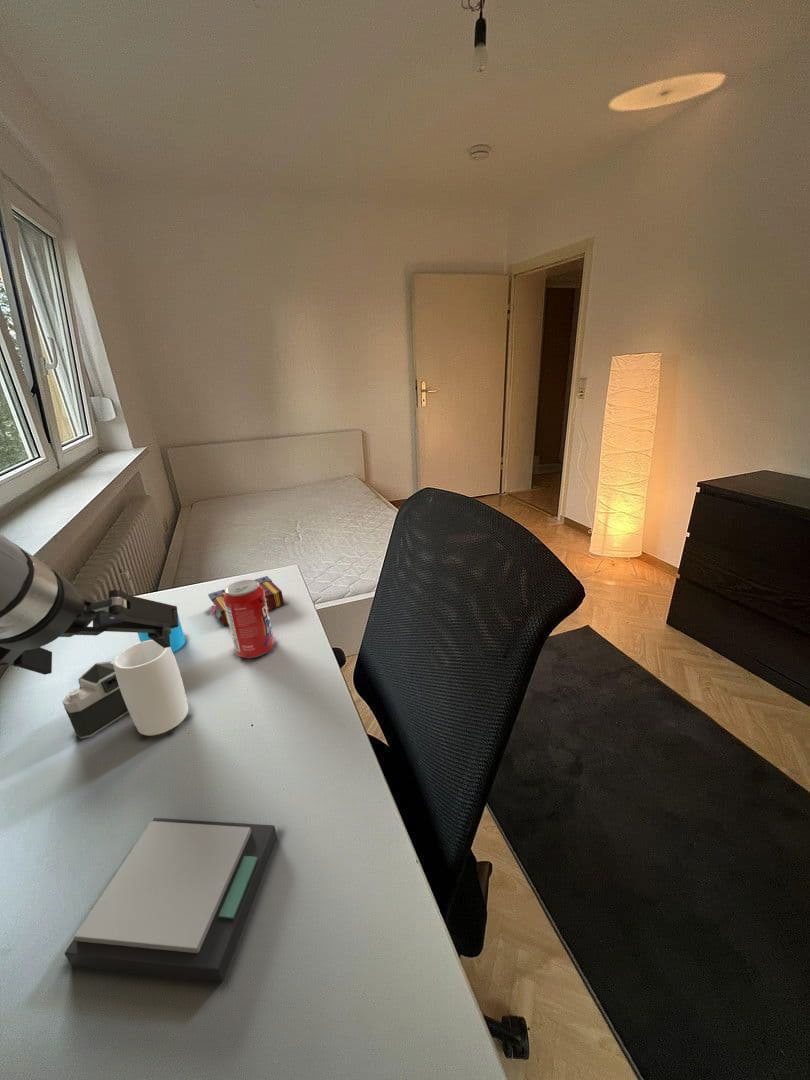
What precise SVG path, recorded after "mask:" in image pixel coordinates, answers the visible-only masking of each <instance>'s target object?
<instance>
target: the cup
mask: <svg viewBox="0 0 810 1080" xmlns="http://www.w3.org/2000/svg"><path fill="white" fill-rule="evenodd" d="M113 665H114V670H115V674H116V678H117V681H118V685H119V688H120V691H121V694H122V696H123V699H124V701H125V704H126V706H127V709H128V711H129V712H128V713H129V716H130V718H131V720H132V722H133V724H134V726H135V728H136V730H137V732H138V733H139V734H141V735H144V736H150V737H151V736H152V737H153V736H156V735H160V734H163V733H166V732H169V731H171V730H172V729H175V727H177V726H179V725H180V724H181V723H182V722H183V721H184V720H185V719H186V717H187V715H188V713H189V703H188V698H187V694H186V689H185V685H184V682H183V679H182V675H181V674H182V673H181V671H180V668H179V665H178V662H177V660H176V657H175V654H174V652H172V650H171V647H167V648H163V647H162V646H161V645H159V644H158V643H156V642H155V641H154V640H148V641H144V642H140V641H139V642H137V643H134V644H132V645H130V646H128V647H126V648H125V649H123V650H122V651H121V652H120V653H119V654H117V655H116V657H115V658H114V660H113Z"/></svg>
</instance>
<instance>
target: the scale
mask: <svg viewBox="0 0 810 1080" xmlns="http://www.w3.org/2000/svg"><path fill="white" fill-rule="evenodd" d="M277 839H278V835H277V830H276V826H275V824H258V823H245V822H243V823H242V822H227V821H211V820H210V821H209V820H194V819H193V820H192V819H176V818H161V817H154V818H153V819H152V821H151V820H150V822H149V824H148V825H147V827H146V828H145V830H144V831H143V833H142V834H141V836H140V837H139V838H138V840H137V841H136V843H135V845H134V846H133V848H132V849H131V851H130V852H129V854H128V855H127V857H126V858H125V860H124V861H123V863H122V864H121V866H120V867H119V869H118V870H117V871H116V873H115V874H114V876H113V878H111V881H110V882H109V883H108V885H107V886H106V888H105V890H104V891H103V893H102V894H101V895H100V897H99V899H98V900H97V902H96V903H95V905H94V906H93V908H92V909H91V911H90V912H89V914H88V915H87V916H86V918H85V920H84V921H83V923H82V924H81V926H80V927H79V929H78V930H77V932H76V933H75V935H74V936H73V937H74V938H73V939H72V941H71V942H70V944H69V945H68V947H67V948H66V950H65V951H64V956H65V958H66V959H67V960H68V962H69V964H70V966H71V967H76V968H77V967H78V968H87V969H96V970H106V971H115V972H123V973H135V974H143V975H153V976H159V977H160V976H162V977H171V978H180V979H187V980H197V981H198V980H199V981H206V982H207V981H208V982H215V983H216V982H217V983H223V982H224V980H225V977H226V974H227V971H228V969H229V966H230V963H231V961H232V958H233V955H234V953H235V950H236V948H237V945H238V942H239V939H240V937H241V934H242V931H243V930H244V927H245V924H246V922H247V918H248V916H249V914H250V910H251V908H252V905H253V903H254V900H255V897H256V894H257V892H258V890H259V887H260V884H261V882H262V879H263V876H264V873H265V871H266V868H267V865H268V863H269V860H270V857H271V854H272V852H273V850H274V847H275V844H276V842H277Z"/></svg>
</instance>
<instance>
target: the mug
mask: <svg viewBox="0 0 810 1080" xmlns="http://www.w3.org/2000/svg"><path fill="white" fill-rule="evenodd" d="M178 624H179V626H178V627H176V628H171V634H169V637H170V647H171V650H172V652H173V653H175V652H177V651H178V650H180V649H181V648H182V647H183V646H184V645H185V643H186V637H185V634H184V631H183V626H182V624H181V620H180V616H179V615H178ZM137 636H138V639H139V643H140V642H144V641H148V640H152V639H151V638H149V637H148V633H137Z"/></svg>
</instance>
